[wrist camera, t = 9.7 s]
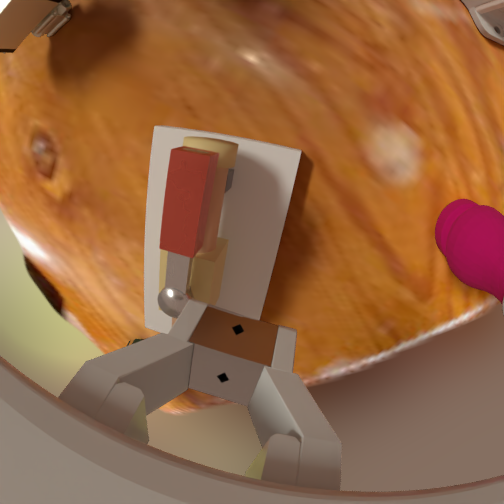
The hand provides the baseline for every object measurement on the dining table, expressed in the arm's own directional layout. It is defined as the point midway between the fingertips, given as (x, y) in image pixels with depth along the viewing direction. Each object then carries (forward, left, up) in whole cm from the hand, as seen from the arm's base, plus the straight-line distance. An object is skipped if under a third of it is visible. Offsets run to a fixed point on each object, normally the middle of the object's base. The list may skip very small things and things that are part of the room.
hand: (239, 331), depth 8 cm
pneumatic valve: (+30, -17, -20) cm, 40 cm away
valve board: (+6, +8, -20) cm, 22 cm away
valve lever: (+6, +3, -12) cm, 13 cm away
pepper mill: (-18, -1, -20) cm, 27 cm away
